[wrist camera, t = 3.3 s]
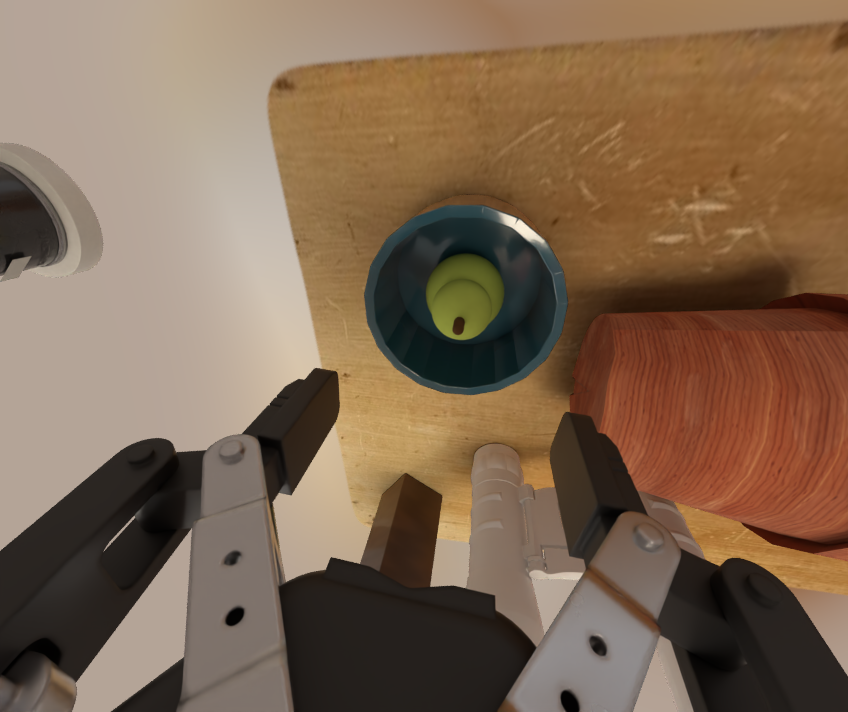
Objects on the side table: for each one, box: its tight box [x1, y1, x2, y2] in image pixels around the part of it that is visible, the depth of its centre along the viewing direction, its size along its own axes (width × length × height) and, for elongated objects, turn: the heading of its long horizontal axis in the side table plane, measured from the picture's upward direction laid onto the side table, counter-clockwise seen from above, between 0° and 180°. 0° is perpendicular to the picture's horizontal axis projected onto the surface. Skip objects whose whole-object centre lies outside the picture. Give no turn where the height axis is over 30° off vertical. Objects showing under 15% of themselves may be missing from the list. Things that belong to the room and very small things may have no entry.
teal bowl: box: [364, 194, 568, 395], centre depth 23 cm, size 12×12×7 cm
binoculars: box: [466, 444, 705, 712], centre depth 25 cm, size 17×5×18 cm, turn 98°
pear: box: [426, 253, 504, 340], centre depth 21 cm, size 5×5×9 cm
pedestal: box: [360, 474, 442, 588], centre depth 27 cm, size 5×5×28 cm
